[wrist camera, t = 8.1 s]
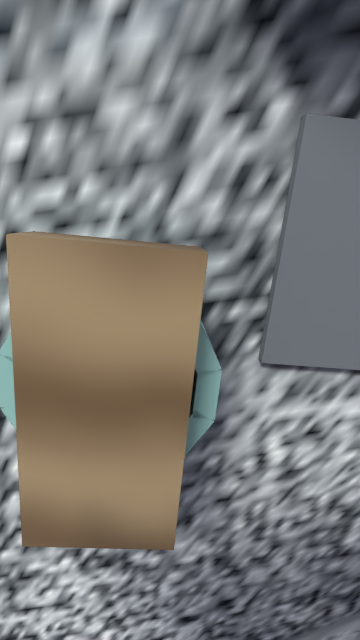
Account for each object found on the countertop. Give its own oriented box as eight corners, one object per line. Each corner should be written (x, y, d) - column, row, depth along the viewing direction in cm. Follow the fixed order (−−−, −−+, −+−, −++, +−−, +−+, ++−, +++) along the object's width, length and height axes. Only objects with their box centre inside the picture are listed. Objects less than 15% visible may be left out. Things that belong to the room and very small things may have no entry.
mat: (393, 368, 19) (400, 373, 19) (258, 358, 19) (261, 362, 18) (463, 138, 16) (475, 135, 15) (301, 117, 15) (306, 113, 15)
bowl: (196, 425, 20) (205, 482, 16) (39, 416, 19) (4, 473, 15) (215, 273, 17) (233, 292, 13) (36, 257, 17) (-8, 271, 12)
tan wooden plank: (172, 505, 16) (173, 550, 14) (41, 501, 15) (22, 546, 13) (200, 246, 12) (208, 252, 10) (33, 231, 12) (6, 234, 10)
